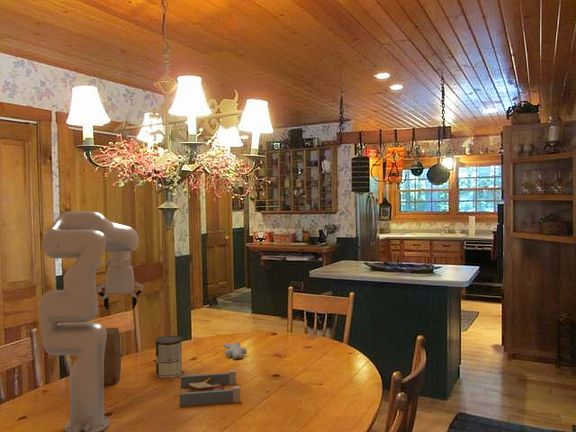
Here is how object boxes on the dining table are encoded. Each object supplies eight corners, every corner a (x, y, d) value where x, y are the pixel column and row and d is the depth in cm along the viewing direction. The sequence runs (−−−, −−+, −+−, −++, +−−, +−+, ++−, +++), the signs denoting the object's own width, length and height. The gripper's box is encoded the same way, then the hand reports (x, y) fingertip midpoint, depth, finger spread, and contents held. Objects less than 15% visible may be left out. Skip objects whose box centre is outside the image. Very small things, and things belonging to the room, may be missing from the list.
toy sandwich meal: (231, 395, 176) (231, 382, 176) (196, 404, 168) (196, 390, 168) (214, 385, 186) (214, 373, 186) (181, 393, 178) (180, 380, 178)
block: (116, 385, 186) (115, 332, 185) (95, 386, 185) (94, 332, 185) (123, 375, 196) (122, 325, 196) (103, 376, 196) (103, 325, 195)
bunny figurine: (227, 352, 215) (221, 339, 229) (227, 363, 216) (221, 350, 230) (249, 350, 218) (241, 337, 232) (248, 361, 218) (241, 348, 233)
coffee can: (150, 374, 198) (150, 339, 198) (171, 368, 206) (171, 334, 206) (166, 380, 192) (166, 343, 191) (187, 373, 200) (187, 338, 199)
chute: (240, 402, 170) (240, 388, 169) (179, 406, 166) (179, 392, 166) (235, 382, 188) (235, 369, 188) (180, 386, 185) (180, 373, 185)
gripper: (94, 265, 184) (94, 311, 184) (143, 263, 187) (143, 309, 188) (97, 263, 191) (98, 307, 191) (144, 261, 195) (144, 305, 195)
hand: (120, 308), depth 189 cm, fingers open, 9 cm apart
